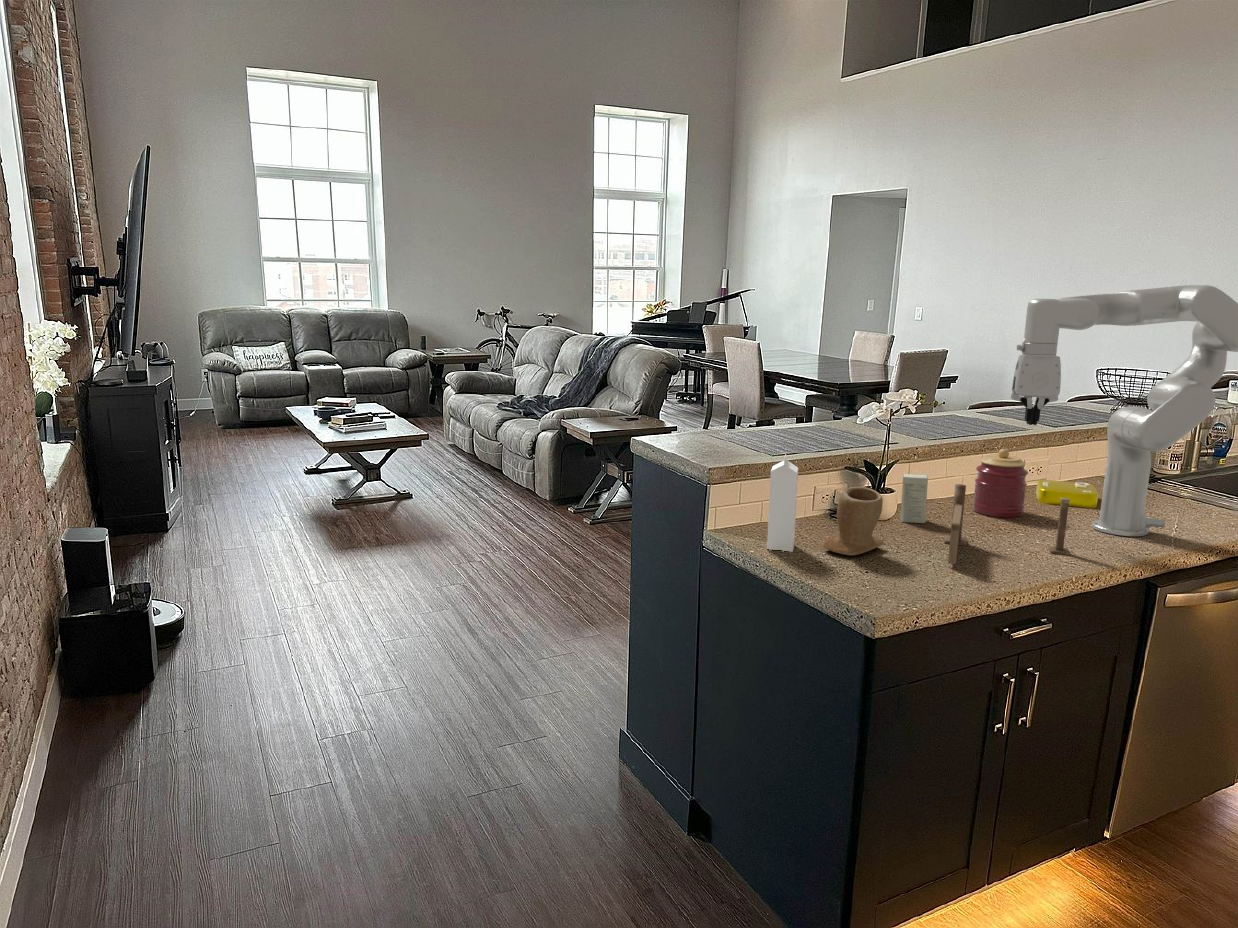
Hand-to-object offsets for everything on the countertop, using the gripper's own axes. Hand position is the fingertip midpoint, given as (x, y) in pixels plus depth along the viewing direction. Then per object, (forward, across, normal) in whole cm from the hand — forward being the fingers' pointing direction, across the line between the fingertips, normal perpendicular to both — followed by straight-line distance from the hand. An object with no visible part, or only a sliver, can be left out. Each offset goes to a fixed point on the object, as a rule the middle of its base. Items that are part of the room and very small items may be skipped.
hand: (1031, 424), depth 211 cm
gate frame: (+27, -8, -17) cm, 33 cm away
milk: (+27, -61, -28) cm, 72 cm away
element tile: (+28, +22, +35) cm, 50 cm away
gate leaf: (+26, -22, -26) cm, 43 cm away
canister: (+27, -1, +16) cm, 32 cm away
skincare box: (+27, -26, +2) cm, 38 cm away
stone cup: (+27, -43, -27) cm, 58 cm away
